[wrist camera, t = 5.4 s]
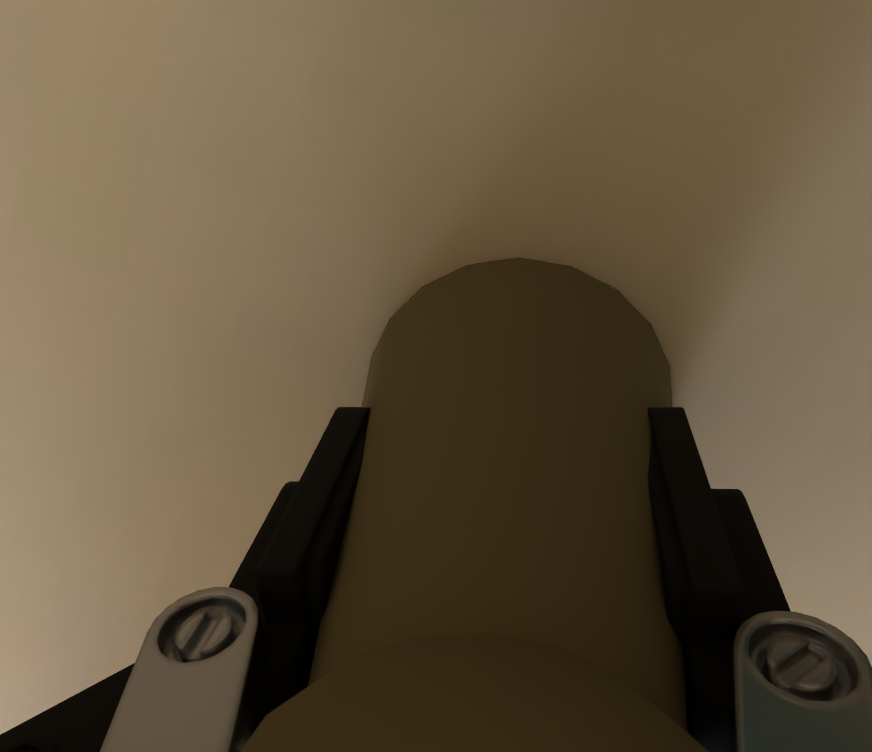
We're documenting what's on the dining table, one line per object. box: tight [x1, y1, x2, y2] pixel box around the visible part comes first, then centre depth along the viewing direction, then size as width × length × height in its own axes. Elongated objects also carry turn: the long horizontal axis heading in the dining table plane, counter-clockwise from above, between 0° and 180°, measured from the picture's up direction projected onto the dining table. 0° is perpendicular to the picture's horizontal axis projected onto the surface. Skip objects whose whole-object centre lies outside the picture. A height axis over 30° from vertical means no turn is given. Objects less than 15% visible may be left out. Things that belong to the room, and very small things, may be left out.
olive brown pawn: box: [240, 258, 709, 752], centre depth 9 cm, size 6×6×11 cm
